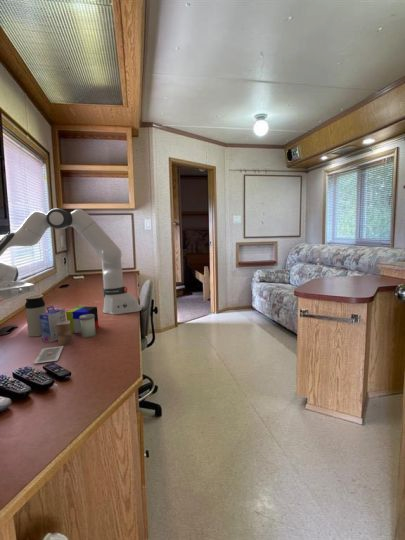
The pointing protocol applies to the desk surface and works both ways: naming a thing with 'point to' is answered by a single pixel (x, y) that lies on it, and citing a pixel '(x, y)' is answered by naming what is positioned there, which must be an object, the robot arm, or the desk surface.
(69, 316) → the puzzle toy
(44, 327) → the ink cartridge box
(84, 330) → the sage canister
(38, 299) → the travel mug
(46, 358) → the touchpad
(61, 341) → the brown cylindrical container
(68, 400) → the desk surface
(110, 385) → the desk surface
